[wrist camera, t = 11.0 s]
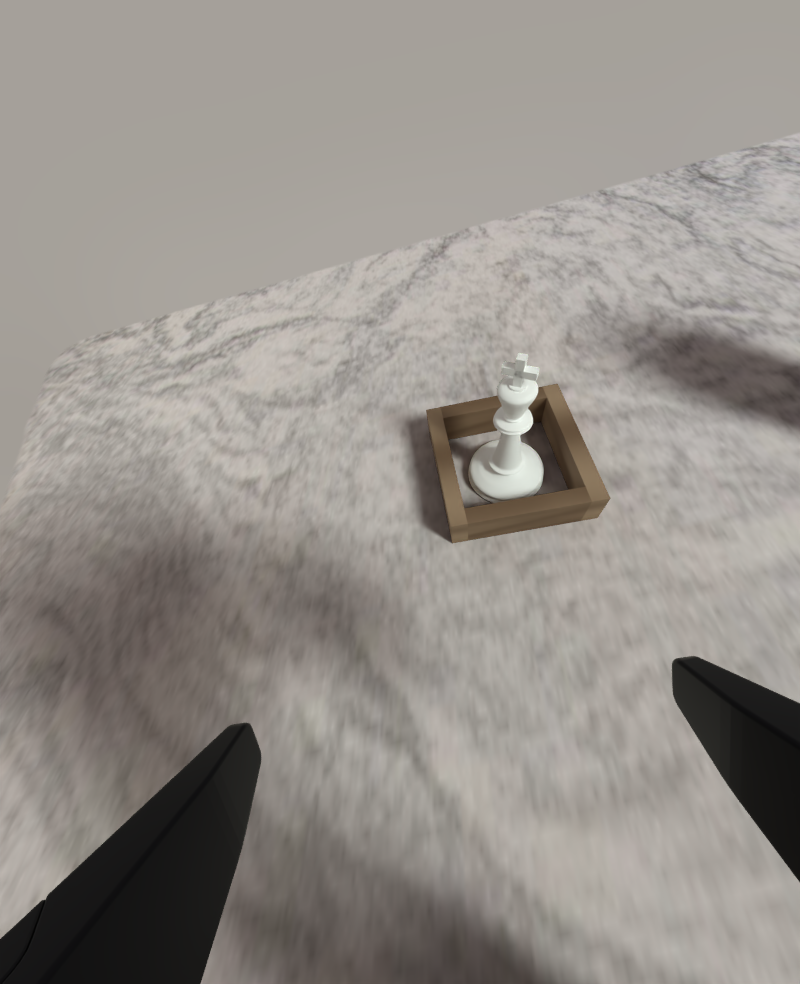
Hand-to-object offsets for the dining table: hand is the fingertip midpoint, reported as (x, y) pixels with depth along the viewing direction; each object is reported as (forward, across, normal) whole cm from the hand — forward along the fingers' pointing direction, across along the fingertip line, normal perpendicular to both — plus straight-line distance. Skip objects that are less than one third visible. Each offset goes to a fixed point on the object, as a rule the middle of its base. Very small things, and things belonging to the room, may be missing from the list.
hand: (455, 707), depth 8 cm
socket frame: (+19, -6, 0) cm, 20 cm away
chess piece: (+19, -6, 0) cm, 20 cm away
